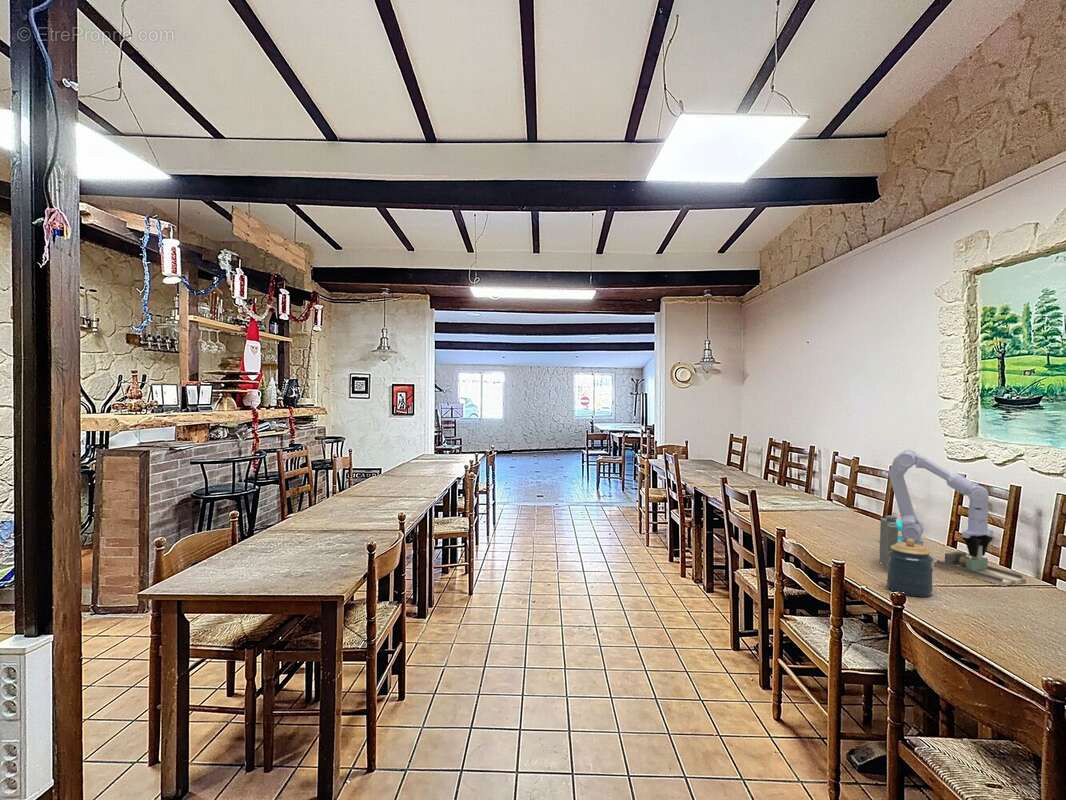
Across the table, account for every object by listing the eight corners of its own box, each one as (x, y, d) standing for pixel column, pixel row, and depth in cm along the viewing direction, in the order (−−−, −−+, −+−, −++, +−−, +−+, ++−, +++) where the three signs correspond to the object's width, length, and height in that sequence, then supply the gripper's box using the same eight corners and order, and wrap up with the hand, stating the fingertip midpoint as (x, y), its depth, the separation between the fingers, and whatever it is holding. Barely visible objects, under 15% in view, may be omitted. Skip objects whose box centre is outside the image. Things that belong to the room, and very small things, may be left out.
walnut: (967, 568, 211) (967, 558, 211) (956, 565, 215) (956, 555, 215) (974, 567, 212) (974, 557, 212) (963, 564, 216) (963, 554, 216)
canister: (922, 586, 196) (923, 535, 196) (940, 599, 183) (941, 545, 183) (880, 582, 199) (881, 532, 198) (895, 595, 186) (896, 542, 186)
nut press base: (1004, 586, 196) (1004, 570, 196) (933, 566, 219) (934, 551, 218) (1025, 583, 200) (1026, 567, 200) (954, 563, 223) (955, 549, 223)
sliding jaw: (973, 571, 207) (973, 547, 207) (964, 569, 210) (964, 545, 210) (989, 569, 210) (989, 545, 210) (980, 567, 213) (980, 543, 213)
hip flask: (878, 561, 224) (880, 511, 223) (890, 562, 222) (891, 512, 222) (887, 573, 209) (889, 519, 209) (900, 575, 207) (901, 520, 207)
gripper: (976, 522, 203) (975, 560, 204) (1002, 520, 208) (1001, 556, 209) (956, 518, 210) (955, 554, 210) (981, 516, 215) (980, 551, 215)
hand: (976, 555), depth 210 cm, fingers open, 4 cm apart
